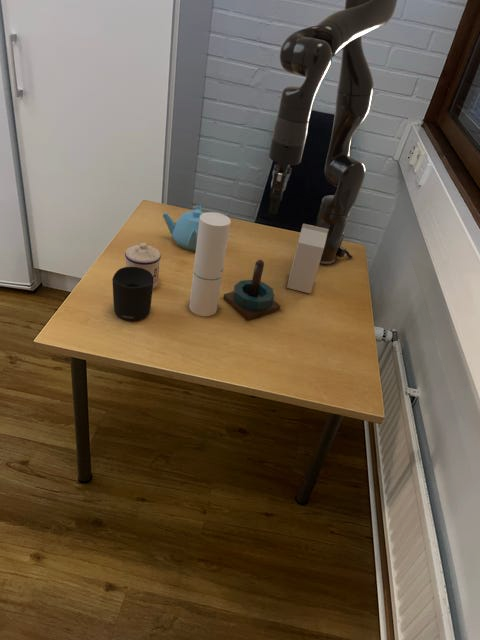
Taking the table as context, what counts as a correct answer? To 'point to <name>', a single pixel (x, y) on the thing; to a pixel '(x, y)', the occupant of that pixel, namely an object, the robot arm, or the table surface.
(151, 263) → the teacup with lid
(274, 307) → the stand
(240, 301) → the ring
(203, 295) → the cylindrical container
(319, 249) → the milk carton
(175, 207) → the table surface
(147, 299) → the pen holder
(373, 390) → the table surface
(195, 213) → the teapot
